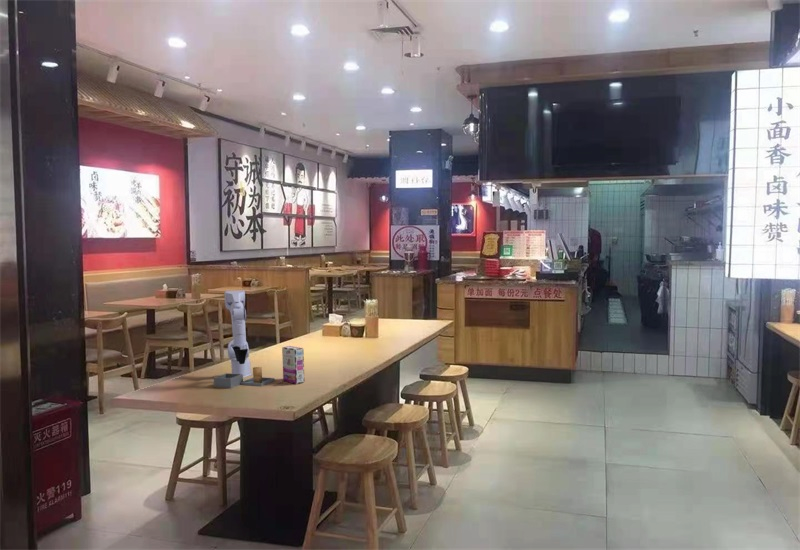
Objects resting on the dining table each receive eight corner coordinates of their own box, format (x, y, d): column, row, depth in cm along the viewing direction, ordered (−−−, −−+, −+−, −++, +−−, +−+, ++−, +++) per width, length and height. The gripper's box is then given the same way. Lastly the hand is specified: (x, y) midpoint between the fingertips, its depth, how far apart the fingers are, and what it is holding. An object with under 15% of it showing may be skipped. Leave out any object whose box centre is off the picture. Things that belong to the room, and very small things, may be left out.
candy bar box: (305, 382, 287) (304, 347, 286) (296, 384, 283) (295, 349, 282) (291, 379, 294) (290, 345, 294) (282, 381, 291) (281, 346, 290)
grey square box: (226, 383, 289) (226, 373, 288) (243, 384, 285) (242, 374, 285) (214, 388, 280) (213, 377, 280) (231, 389, 277) (230, 378, 277)
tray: (254, 380, 294) (254, 376, 293) (274, 381, 290) (274, 378, 290) (241, 385, 283) (241, 382, 283) (261, 387, 279) (261, 383, 279)
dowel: (256, 381, 289) (256, 366, 289) (263, 381, 288) (263, 367, 287) (251, 383, 285) (251, 368, 285) (258, 383, 284) (258, 368, 283)
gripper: (228, 332, 292) (229, 360, 293) (233, 336, 279) (234, 366, 280) (243, 331, 295) (244, 359, 296) (248, 335, 282) (250, 364, 283)
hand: (240, 362), depth 288 cm, fingers open, 7 cm apart
